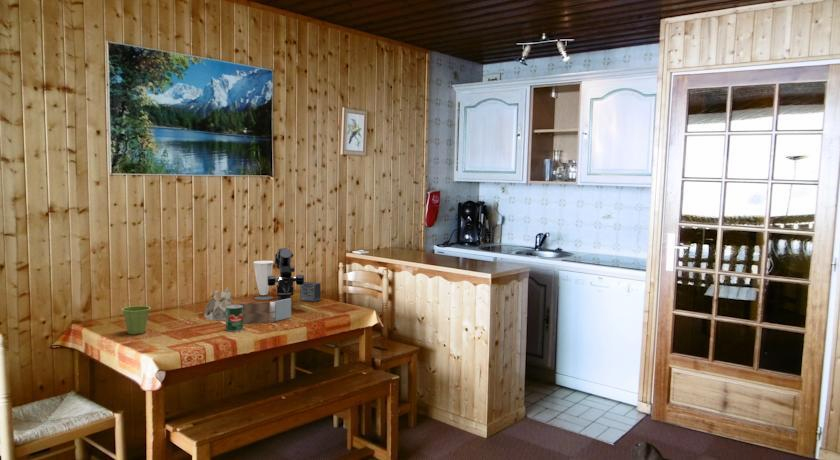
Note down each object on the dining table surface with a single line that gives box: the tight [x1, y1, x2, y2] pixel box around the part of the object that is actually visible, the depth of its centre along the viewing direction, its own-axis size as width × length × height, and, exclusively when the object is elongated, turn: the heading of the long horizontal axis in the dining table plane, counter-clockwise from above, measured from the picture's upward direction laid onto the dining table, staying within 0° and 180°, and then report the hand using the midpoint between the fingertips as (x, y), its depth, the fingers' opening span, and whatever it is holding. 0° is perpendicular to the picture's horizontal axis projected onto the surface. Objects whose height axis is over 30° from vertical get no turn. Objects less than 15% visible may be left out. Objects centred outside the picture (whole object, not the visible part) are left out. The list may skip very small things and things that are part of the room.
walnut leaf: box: [238, 301, 276, 325], centre depth 293 cm, size 17×2×10 cm, turn 106°
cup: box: [253, 260, 275, 301], centre depth 352 cm, size 12×12×22 cm
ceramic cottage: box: [203, 287, 233, 322], centre depth 303 cm, size 16×16×15 cm
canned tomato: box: [225, 304, 244, 332], centre depth 280 cm, size 8×8×11 cm
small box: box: [299, 281, 322, 303], centre depth 348 cm, size 11×6×10 cm, turn 65°
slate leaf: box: [269, 298, 292, 322], centre depth 299 cm, size 13×2×10 cm, turn 146°
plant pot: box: [121, 305, 151, 335], centre depth 271 cm, size 12×12×11 cm
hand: (286, 293), depth 311 cm, fingers closed
